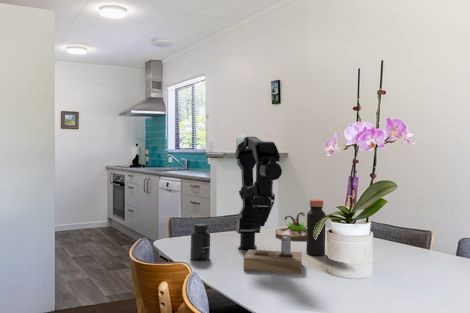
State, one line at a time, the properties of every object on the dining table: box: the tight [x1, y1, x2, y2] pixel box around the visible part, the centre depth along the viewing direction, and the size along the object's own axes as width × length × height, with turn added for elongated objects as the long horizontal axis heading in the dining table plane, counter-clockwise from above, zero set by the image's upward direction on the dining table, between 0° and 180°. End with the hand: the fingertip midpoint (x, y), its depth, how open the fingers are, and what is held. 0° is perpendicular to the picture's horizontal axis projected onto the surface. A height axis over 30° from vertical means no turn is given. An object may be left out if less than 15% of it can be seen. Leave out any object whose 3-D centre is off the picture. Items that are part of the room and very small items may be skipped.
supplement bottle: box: [190, 223, 211, 262], centre depth 155 cm, size 7×7×12 cm
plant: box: [275, 211, 307, 242], centre depth 199 cm, size 20×20×11 cm
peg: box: [280, 236, 292, 257], centre depth 144 cm, size 3×3×10 cm
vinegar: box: [305, 199, 327, 257], centre depth 164 cm, size 7×7×20 cm
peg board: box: [243, 249, 303, 275], centre depth 145 cm, size 12×18×4 cm, turn 81°
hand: (263, 224), depth 151 cm, fingers open, 9 cm apart
